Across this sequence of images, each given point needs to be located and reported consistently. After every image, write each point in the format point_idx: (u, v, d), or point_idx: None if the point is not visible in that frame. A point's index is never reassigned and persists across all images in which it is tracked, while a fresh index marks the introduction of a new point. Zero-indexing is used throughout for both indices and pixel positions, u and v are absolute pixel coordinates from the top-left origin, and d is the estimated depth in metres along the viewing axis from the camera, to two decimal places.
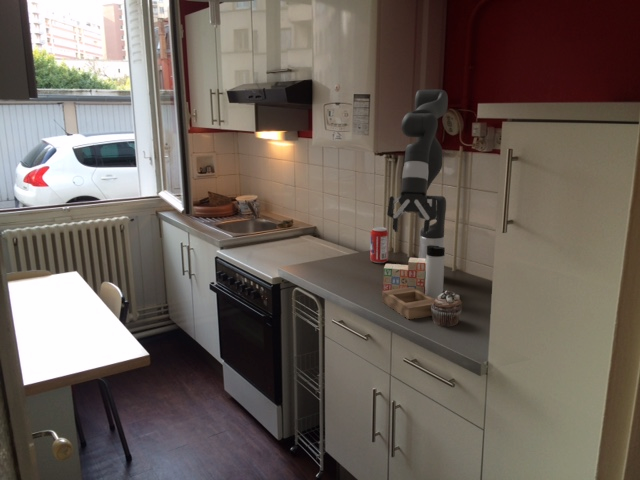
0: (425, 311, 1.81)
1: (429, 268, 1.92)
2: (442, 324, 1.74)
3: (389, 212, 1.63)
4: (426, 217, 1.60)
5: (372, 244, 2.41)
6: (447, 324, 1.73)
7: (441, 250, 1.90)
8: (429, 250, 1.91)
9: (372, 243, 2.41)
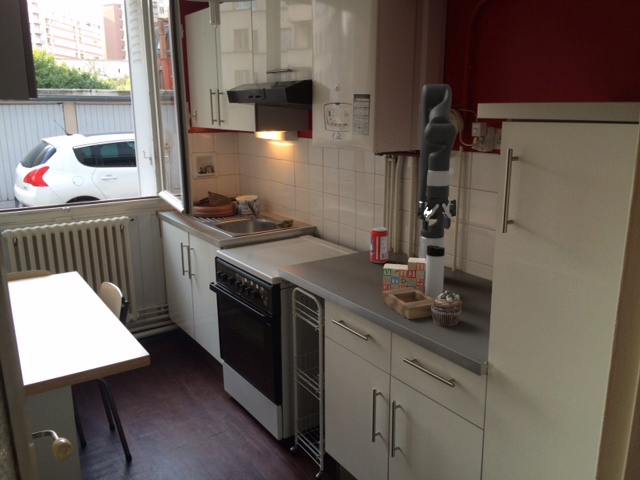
0: (425, 311, 1.81)
1: (429, 268, 1.92)
2: (442, 324, 1.74)
3: (422, 216, 1.86)
4: (449, 216, 1.90)
5: (372, 244, 2.41)
6: (447, 324, 1.73)
7: (441, 250, 1.90)
8: (429, 250, 1.91)
9: (372, 243, 2.41)
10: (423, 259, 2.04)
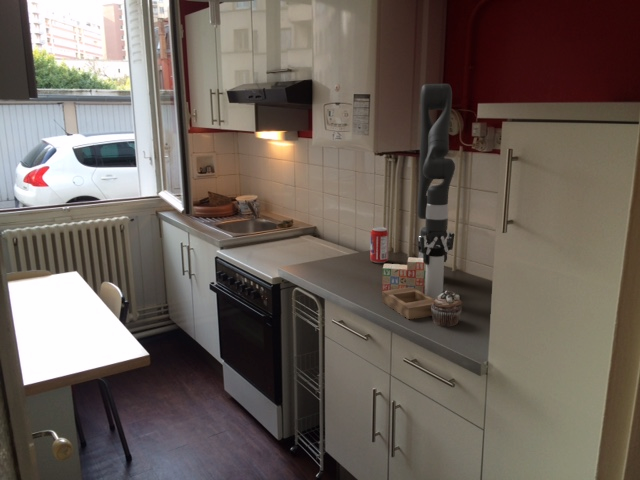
0: (425, 311, 1.81)
1: (429, 268, 1.92)
2: (442, 324, 1.74)
3: (423, 250, 1.89)
4: (446, 250, 1.93)
5: (372, 244, 2.41)
6: (447, 324, 1.73)
7: (441, 250, 1.90)
8: None
9: (372, 243, 2.41)
10: (422, 259, 2.05)
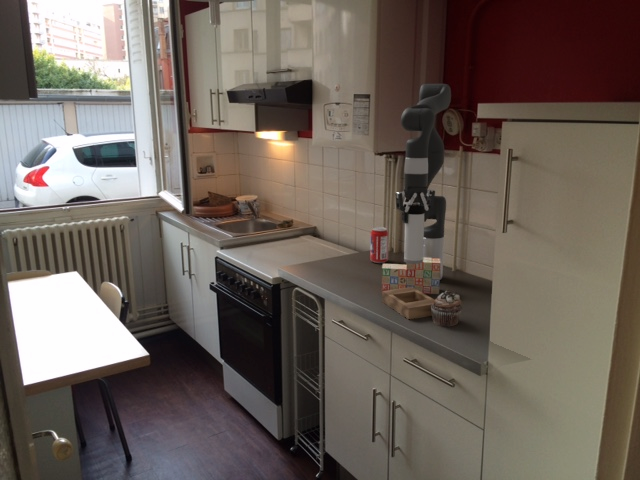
0: (425, 311, 1.81)
1: (408, 228, 1.81)
2: (442, 324, 1.74)
3: (401, 207, 1.78)
4: (426, 208, 1.81)
5: (372, 244, 2.41)
6: (447, 324, 1.73)
7: (420, 207, 1.78)
8: None
9: (372, 243, 2.41)
10: None
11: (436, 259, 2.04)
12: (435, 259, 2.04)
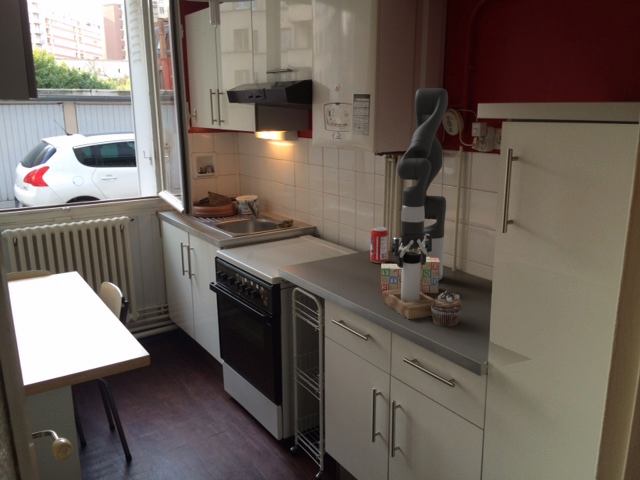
0: (425, 311, 1.81)
1: (404, 276, 1.84)
2: (442, 324, 1.74)
3: (396, 253, 1.81)
4: (425, 252, 1.85)
5: (372, 244, 2.41)
6: (447, 324, 1.73)
7: (417, 257, 1.82)
8: (404, 257, 1.83)
9: (372, 243, 2.41)
10: None
11: (434, 258, 2.05)
12: (433, 258, 2.05)
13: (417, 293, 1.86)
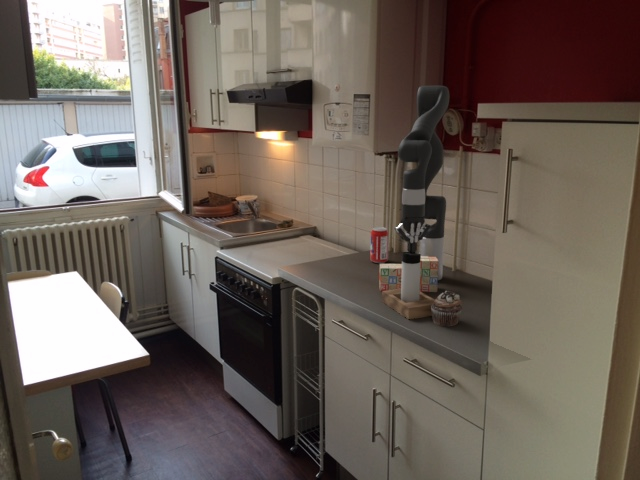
0: (425, 311, 1.81)
1: (404, 276, 1.84)
2: (442, 324, 1.74)
3: (407, 238, 1.81)
4: (416, 239, 1.83)
5: (372, 244, 2.41)
6: (447, 324, 1.73)
7: (417, 257, 1.82)
8: (404, 257, 1.83)
9: (372, 243, 2.41)
10: None
11: (433, 257, 2.07)
12: (432, 257, 2.07)
13: (417, 293, 1.86)
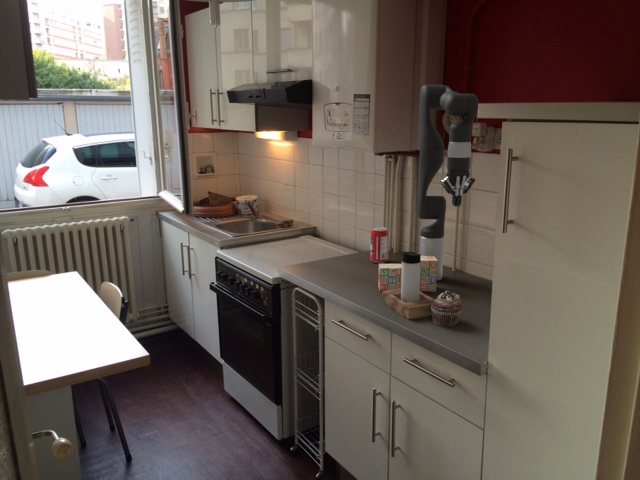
0: (425, 311, 1.81)
1: (404, 276, 1.84)
2: (442, 324, 1.74)
3: (452, 191, 1.85)
4: (461, 193, 1.87)
5: (372, 244, 2.41)
6: (447, 324, 1.73)
7: (417, 257, 1.82)
8: (404, 257, 1.83)
9: (372, 243, 2.41)
10: None
11: (431, 257, 2.07)
12: (430, 257, 2.07)
13: (417, 293, 1.86)
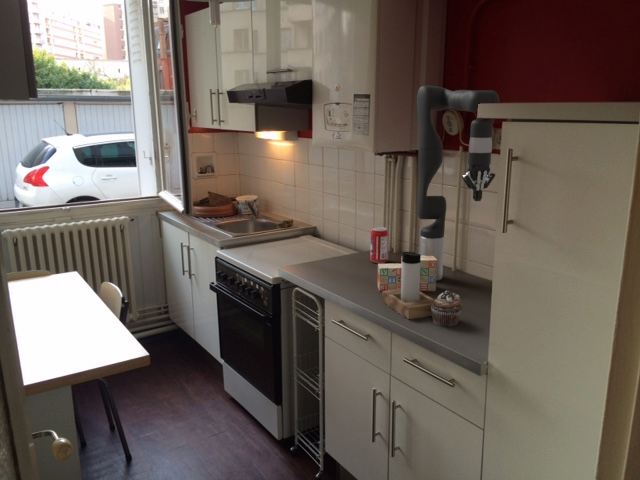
0: (425, 311, 1.81)
1: (404, 276, 1.84)
2: (442, 324, 1.74)
3: (474, 186, 1.89)
4: (481, 187, 1.90)
5: (372, 244, 2.41)
6: (447, 324, 1.73)
7: (417, 257, 1.82)
8: (404, 257, 1.83)
9: (372, 243, 2.41)
10: None
11: (430, 256, 2.08)
12: (429, 257, 2.08)
13: (417, 293, 1.86)
